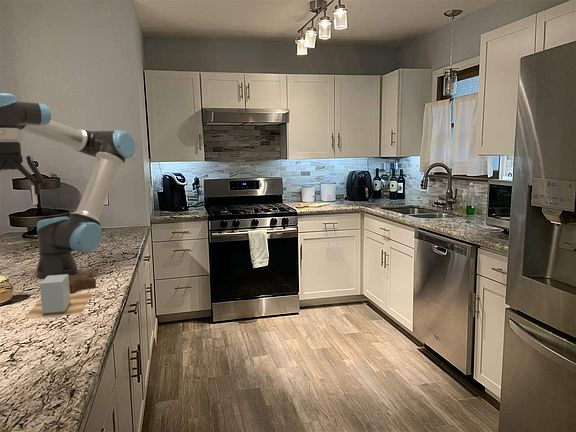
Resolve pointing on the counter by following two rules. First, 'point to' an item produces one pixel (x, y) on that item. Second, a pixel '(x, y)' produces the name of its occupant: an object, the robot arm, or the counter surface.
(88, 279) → the decorative item
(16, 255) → the counter surface
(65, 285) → the grey rectangular block
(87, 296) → the board
